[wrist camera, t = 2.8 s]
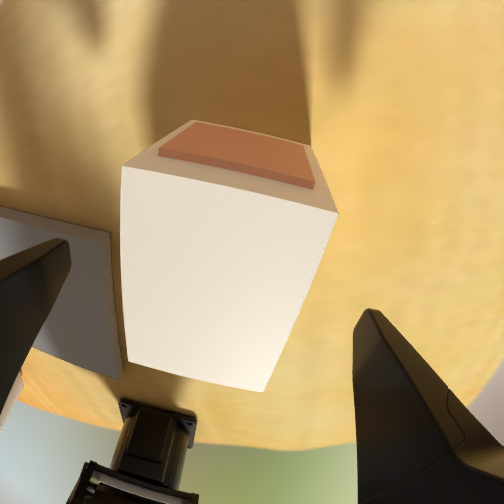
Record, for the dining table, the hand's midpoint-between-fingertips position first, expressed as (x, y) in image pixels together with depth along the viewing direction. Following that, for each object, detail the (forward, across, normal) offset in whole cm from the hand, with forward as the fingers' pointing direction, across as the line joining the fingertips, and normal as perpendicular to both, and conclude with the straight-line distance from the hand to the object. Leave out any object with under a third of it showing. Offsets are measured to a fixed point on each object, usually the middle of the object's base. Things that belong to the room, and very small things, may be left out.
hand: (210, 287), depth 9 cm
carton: (+5, 0, 0) cm, 5 cm away
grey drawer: (+5, +10, +8) cm, 14 cm away
